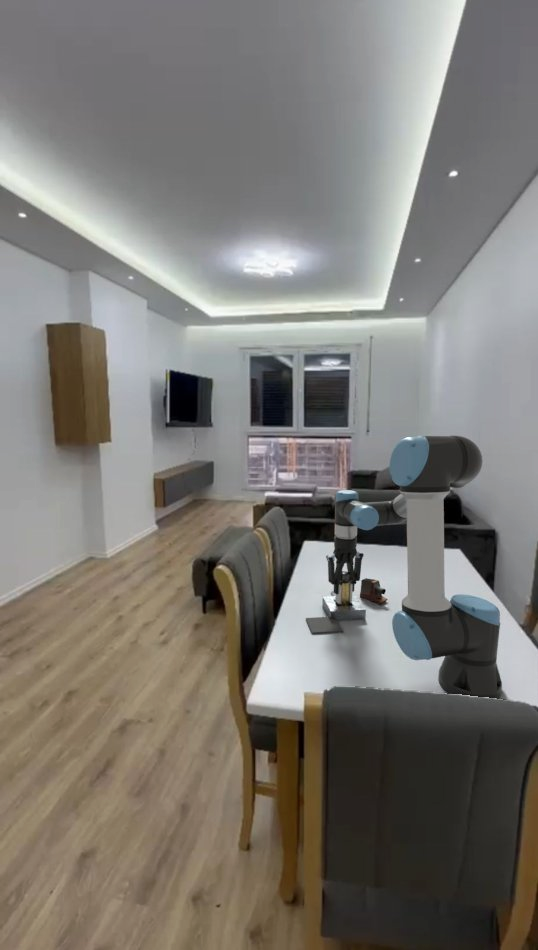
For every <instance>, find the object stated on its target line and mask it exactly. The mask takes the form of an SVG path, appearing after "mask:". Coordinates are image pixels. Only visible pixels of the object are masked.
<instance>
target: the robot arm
mask: <svg viewBox="0 0 538 950" xmlns="http://www.w3.org/2000/svg"><path fill="white" fill-rule="evenodd" d="M388 467H389V475H390V476H391V480H392V482H393V483H394V484H395V485H397V486H399V493H400V494H399V495H397V496H396V497H395V498H393V499H392V500H388V501H387V500H386V501H371V502H370V501H369V502H362V501H359V499H360V498H359V493H358V492H357V491H355V490H350V489H344V490H343V489H341V490H338V491H336V493H335V501H334V506H335V507H334V537H333V539H334V540H333V541H334V543H333V544H334V545H333V546H334V550H333V552H332V553H331V554H330V555H328V554H327V555H326V556H325V558H326V561H327V571H328V572H327V577H328V581H327V582H328V583H330V584H331V585H333V591H334V593H335V594H336V595H335V601H336V602H337V603H338V604H341V588H342V586H341V585H340V579H341V574H342V571H343V569H344V566H345V564H346V569H347V572H349V573H350V581H349V602H352V595H353V592H355V585H356V584H357V582H359V581H361V571H362V561H363V557H364V553H363V552H361V551H357V548H358V547H357V544H358V543H357V541H358V539H357V538H358V537H357V535H358V529H359V530H360V529H361V530H364V531H369V530H373V529H374V528H375V527H379V526H380V527H381V526H387V525H388V526H390V525H406V543H407V544H406V548H407V549H406V550H407V551H406V552H407V553H406V555H407V557H406V558H407V561H406V562H407V563H406V565H407V595H405V596H404V598H402V599H401V610H399V611H397V612H395V613H394V615H393V617H392V621H391V623H392V633H393V635H394V638H395V642H396V644H397V645H398V647H399V649H400V650H401V651H402V653H403V654H404V656H406V657H407V658H409V659H410V660H413V661H422V660H424V661H425V660H426V661H429V660H431V659H436V658H442V657H444V658H443V660H442V663H441V665H440V667H439V670H438V683H439V685H440V687H442V689H444V690H445V691H446V692H447V693H449V694H450V693H452V694H462V695H470V696H478V697H489V698H498V699H499V698H500V697H501V696H502V690H503V683H502V679H501V675H500V671H499V668H498V663H497V659H498V658H497V657H498V650H499V649H498V648H499V638H500V637H499V636H500V630H501V629H500V627H501V621H500V620H501V612H500V609H499V607H497V605H496V604H494V603H493V602H490V601H488V600H486V599H484V598H481V597H478V596H474V595H470V594H463V593H462V594H460V593H458V594H454V595H452V596H451V597H450V599H448V598H447V597H446V596H445V594H446V593H445V589H446V588H445V585H446V584H445V581H446V580H445V518H444V517H445V511H444V509H445V507H444V499H445V498H446V497H447V496H448V495H449V494H450V493H451V491H452V490H453V489H461V488H463V487H465V486H466V485H468V484H470V483H471V482H472V481H474V480H475V479H476V477H478V476H479V473H481V469H482V467H483V455H482V451H481V450H480V448H479V446H478V445H477V444H476V442H474V441H472V440H471V439H470V438H467V437H465V436H463V435H462V436H461V435H418V436H417V435H416V436H408V437H405V438H403V439H401V440H400V441H398V442H397V443H396V445H395V446H394V448H393V449H392V452H391V455H390V457H389V466H388ZM335 559H336V561H335ZM452 694H451V695H452Z"/></svg>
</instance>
